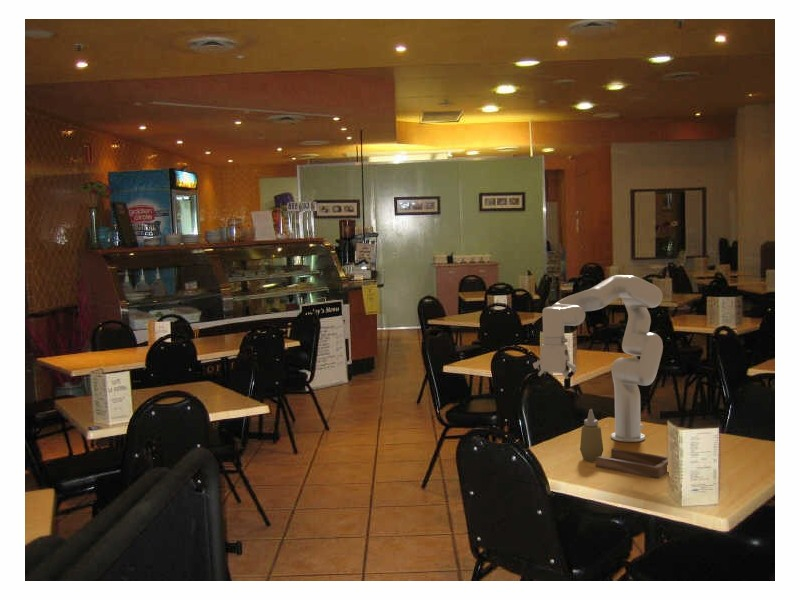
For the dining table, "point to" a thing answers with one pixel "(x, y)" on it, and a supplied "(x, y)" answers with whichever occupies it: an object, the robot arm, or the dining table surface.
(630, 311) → the robot arm
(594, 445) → the squeeze bottle
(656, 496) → the dining table surface
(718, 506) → the dining table surface
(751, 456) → the dining table surface
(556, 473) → the dining table surface
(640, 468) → the brown wooden tray
